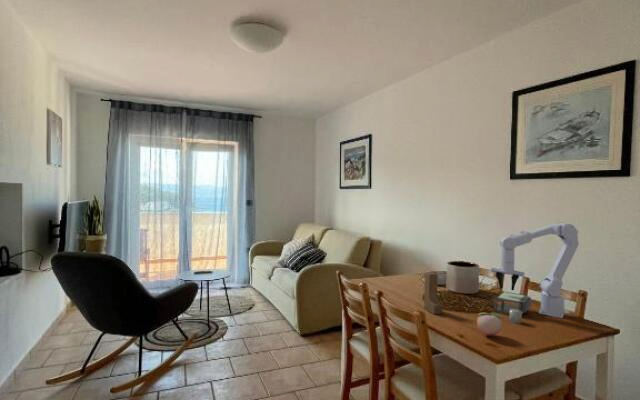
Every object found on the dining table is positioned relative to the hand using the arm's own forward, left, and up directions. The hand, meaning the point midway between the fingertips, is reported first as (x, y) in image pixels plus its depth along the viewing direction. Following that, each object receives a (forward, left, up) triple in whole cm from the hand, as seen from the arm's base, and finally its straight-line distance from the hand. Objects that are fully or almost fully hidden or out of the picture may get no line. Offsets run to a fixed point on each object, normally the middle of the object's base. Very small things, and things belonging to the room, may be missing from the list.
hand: (506, 288), depth 173 cm
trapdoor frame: (-2, 0, -10) cm, 11 cm away
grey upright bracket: (+26, +27, -11) cm, 39 cm away
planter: (+28, -20, -11) cm, 36 cm away
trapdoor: (-3, 0, -8) cm, 9 cm away
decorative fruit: (-3, +40, -11) cm, 41 cm away
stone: (-7, +15, -10) cm, 19 cm away
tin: (+43, -23, -11) cm, 50 cm away
